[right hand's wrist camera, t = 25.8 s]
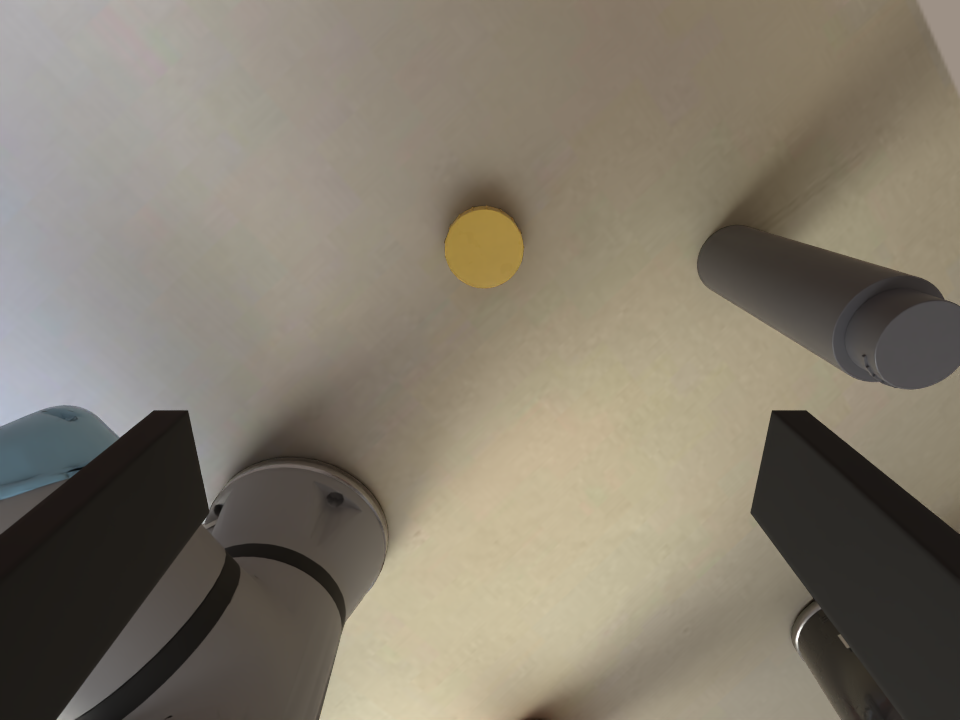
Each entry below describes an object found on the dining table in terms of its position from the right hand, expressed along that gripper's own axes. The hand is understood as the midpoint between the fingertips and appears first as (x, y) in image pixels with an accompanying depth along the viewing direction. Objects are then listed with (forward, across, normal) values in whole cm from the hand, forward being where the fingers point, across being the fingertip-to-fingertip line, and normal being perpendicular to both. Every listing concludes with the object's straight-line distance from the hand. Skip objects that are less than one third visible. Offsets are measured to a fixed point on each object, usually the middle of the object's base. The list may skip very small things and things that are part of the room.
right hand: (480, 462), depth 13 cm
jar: (+29, +18, -1) cm, 34 cm away
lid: (+27, 0, 0) cm, 27 cm away
